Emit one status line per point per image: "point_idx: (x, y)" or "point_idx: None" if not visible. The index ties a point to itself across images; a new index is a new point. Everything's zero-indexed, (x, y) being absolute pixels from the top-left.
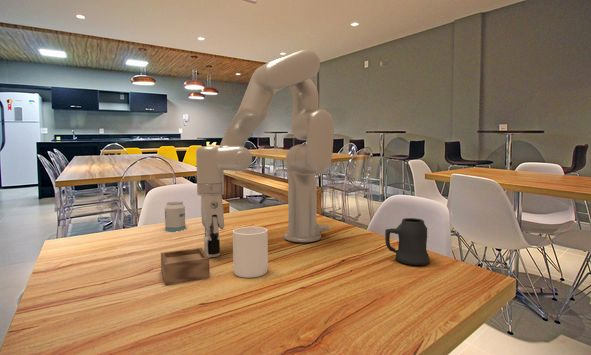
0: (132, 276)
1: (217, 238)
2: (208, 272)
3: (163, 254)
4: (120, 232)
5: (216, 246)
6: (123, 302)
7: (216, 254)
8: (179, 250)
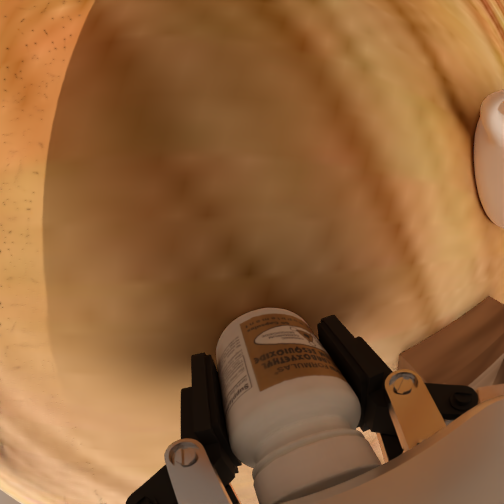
0: (381, 460)
1: (426, 383)
2: (500, 305)
3: None
4: (19, 498)
5: (374, 355)
6: None
7: (309, 327)
8: None
